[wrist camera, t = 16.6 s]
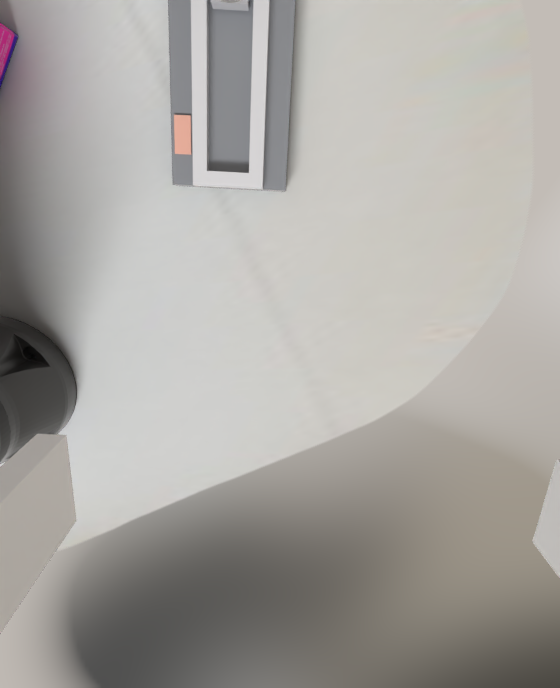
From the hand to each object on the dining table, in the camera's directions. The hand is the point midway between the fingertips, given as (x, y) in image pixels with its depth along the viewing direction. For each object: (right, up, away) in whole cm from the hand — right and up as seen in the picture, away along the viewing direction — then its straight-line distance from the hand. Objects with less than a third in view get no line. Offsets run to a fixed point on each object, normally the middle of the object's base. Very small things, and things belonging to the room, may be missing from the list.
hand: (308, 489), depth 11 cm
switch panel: (-5, +28, +24) cm, 37 cm away
